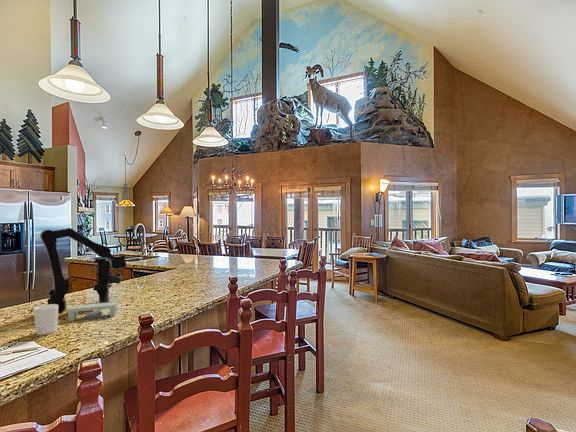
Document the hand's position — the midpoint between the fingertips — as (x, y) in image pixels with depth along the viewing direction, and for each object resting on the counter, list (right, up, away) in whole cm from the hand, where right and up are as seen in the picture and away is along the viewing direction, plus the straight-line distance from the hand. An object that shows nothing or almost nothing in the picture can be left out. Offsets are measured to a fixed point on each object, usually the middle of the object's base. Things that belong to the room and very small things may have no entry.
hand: (104, 300), depth 172 cm
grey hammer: (+3, -2, -8) cm, 9 cm away
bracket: (+8, -2, -23) cm, 24 cm away
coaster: (+8, -2, -23) cm, 24 cm away
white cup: (+1, -2, -42) cm, 42 cm away
